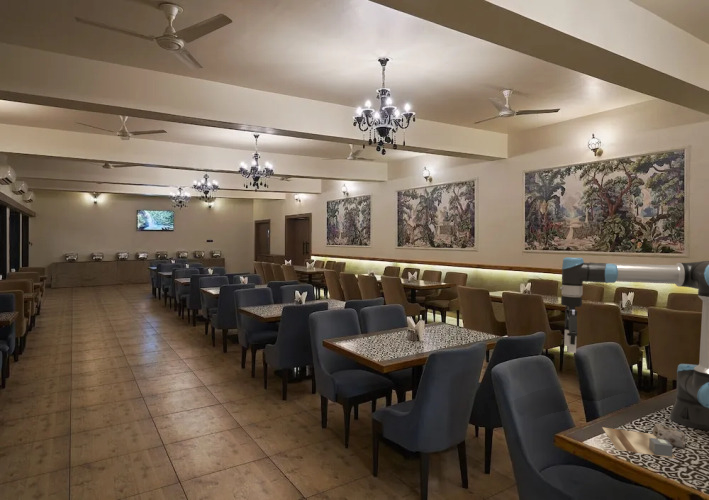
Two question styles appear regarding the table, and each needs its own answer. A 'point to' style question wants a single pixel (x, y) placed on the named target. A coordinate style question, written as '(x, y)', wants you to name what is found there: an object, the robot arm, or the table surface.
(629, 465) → the table surface
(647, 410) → the table surface
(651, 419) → the table surface
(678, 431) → the stone
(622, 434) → the subfloor panel
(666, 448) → the block
